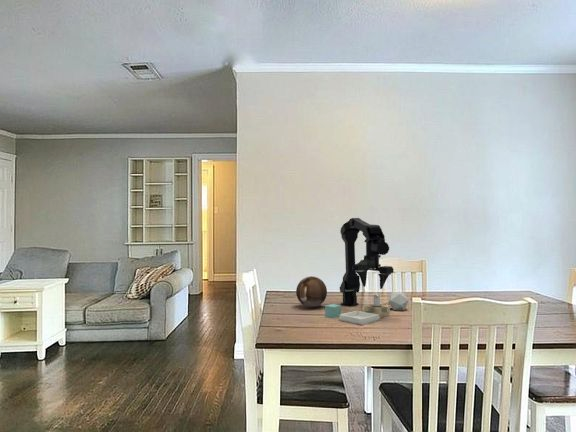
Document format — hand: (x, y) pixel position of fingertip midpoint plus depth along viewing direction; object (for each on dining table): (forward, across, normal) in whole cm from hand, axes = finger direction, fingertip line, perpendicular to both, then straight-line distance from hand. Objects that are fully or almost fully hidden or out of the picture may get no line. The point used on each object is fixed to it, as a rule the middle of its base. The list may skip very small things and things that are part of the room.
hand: (372, 287), depth 211 cm
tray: (+12, +2, -13) cm, 18 cm away
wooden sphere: (+13, -32, -6) cm, 35 cm away
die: (+13, +1, +18) cm, 22 cm away
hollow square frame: (+12, +1, +1) cm, 13 cm away
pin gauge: (+12, +1, +1) cm, 13 cm away
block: (+12, -11, -14) cm, 22 cm away
